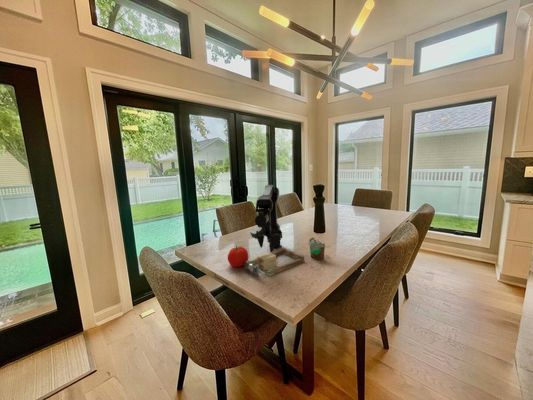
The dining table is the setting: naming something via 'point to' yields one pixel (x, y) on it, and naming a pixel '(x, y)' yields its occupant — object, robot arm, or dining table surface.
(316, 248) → the food container
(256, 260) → the bay
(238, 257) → the tomato
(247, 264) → the winch
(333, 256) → the dining table surface
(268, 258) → the box
